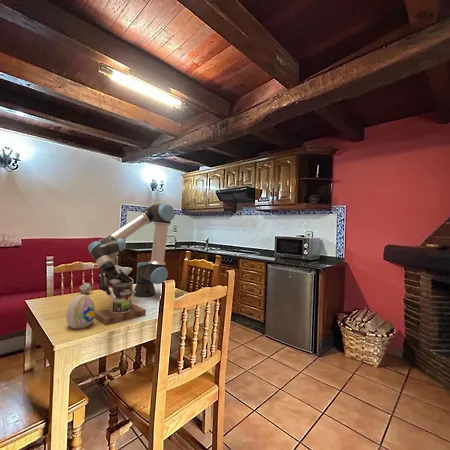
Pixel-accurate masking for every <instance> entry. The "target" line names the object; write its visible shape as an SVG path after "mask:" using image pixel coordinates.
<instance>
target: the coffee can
mask: <svg viewBox="0 0 450 450" xmlns="http://www.w3.org/2000/svg"><path fill="white" fill-rule="evenodd" d="M132 286H133V283H132V282H131V283H128V282H127V283H123V282H116V283H112V284H111V290H112V291H113V293H114V295H115V297H116V298H115V299H114V300H113V301H112V300H111V299H110V300H111V301H110V309H111V312H112V313H116V314H121V313H127V312H129V311H131V304H132Z"/></svg>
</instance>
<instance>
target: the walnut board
mask: <svg viewBox="0 0 450 450" xmlns="http://www.w3.org/2000/svg"><path fill="white" fill-rule="evenodd" d="M146 313H147V312H146V309H145V308H143V307H140V306H138V305H137V304H134V303H131V311H129V312H127V313H121V314H116V313H112V312H111V308H106V309H101V310H97V311H96V310H95V317H94V320H97V321H98V322H99V323H100V324H102V325H104V326H107V325H110V324H111V325H112V324H115V323H116V324H117V323H119V322H124V321H127V320H132V319H136V318H140V317H145V316H146Z"/></svg>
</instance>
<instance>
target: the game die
mask: <svg viewBox="0 0 450 450" xmlns="http://www.w3.org/2000/svg"><path fill="white" fill-rule="evenodd" d="M91 283H92V282H85V281H84V282H83V283H82V284H81V285H80V286H77V288H79V291H80V294H84V295H88V294H89V292H90V291H92V290H93V287H92V285H91Z"/></svg>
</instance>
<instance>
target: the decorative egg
mask: <svg viewBox="0 0 450 450" xmlns="http://www.w3.org/2000/svg"><path fill="white" fill-rule="evenodd" d="M66 309H67V310H66V313H65V316H66V317H65V319H66V323H67V325H68V326H69V327H70V328H71V329H74V330H75V329H76V330H79V329H80V330H81V329H85V328H87V327H90V325H92V323H93V321H94V320H95V318H94V317H95V312H96V306H95V303H94V301H93V299H92V298H91V297H90V296H89V295H88V294H85V293H80V294H79V295H76V296H75V297H74V298H73V299H72V300H71V302H69V305H68V307H67V308H66Z"/></svg>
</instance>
